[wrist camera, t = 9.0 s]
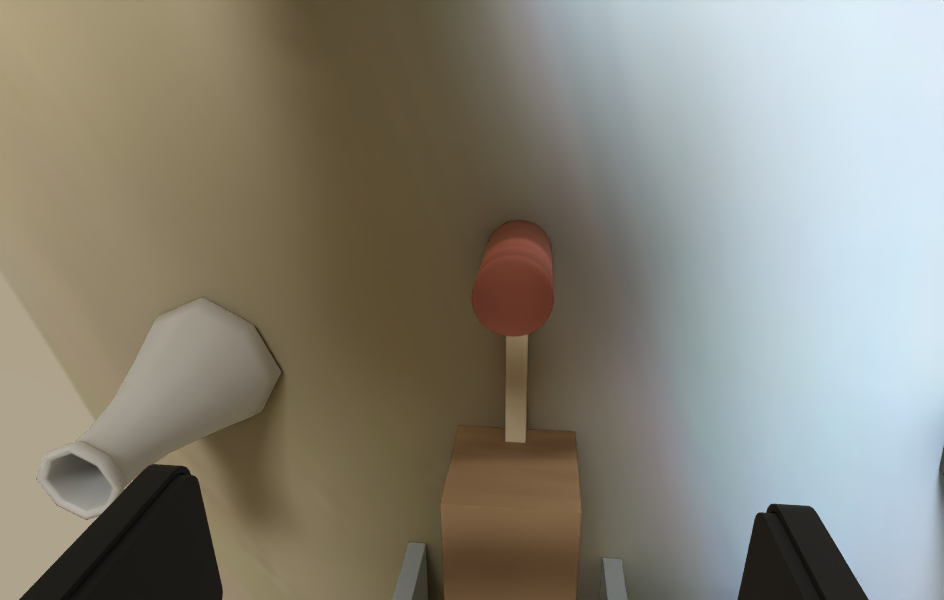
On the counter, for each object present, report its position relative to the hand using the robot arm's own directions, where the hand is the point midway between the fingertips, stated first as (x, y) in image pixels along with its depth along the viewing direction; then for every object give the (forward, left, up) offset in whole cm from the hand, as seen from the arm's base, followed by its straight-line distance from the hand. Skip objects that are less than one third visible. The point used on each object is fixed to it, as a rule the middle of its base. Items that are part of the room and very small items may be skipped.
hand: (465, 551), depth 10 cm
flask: (+7, -16, -19) cm, 26 cm away
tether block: (+7, 0, -19) cm, 20 cm away
